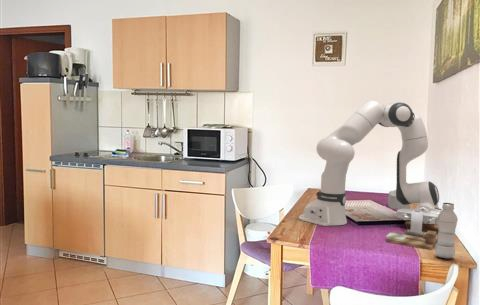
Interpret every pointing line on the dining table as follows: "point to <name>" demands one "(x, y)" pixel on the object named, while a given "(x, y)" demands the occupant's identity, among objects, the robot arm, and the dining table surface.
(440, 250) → the plastic bottle
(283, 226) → the dining table surface
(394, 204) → the lumpy-topped squat cylinder
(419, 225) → the spacer sleeve
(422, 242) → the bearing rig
